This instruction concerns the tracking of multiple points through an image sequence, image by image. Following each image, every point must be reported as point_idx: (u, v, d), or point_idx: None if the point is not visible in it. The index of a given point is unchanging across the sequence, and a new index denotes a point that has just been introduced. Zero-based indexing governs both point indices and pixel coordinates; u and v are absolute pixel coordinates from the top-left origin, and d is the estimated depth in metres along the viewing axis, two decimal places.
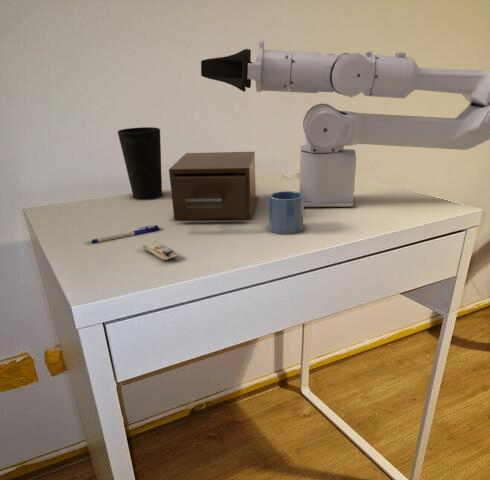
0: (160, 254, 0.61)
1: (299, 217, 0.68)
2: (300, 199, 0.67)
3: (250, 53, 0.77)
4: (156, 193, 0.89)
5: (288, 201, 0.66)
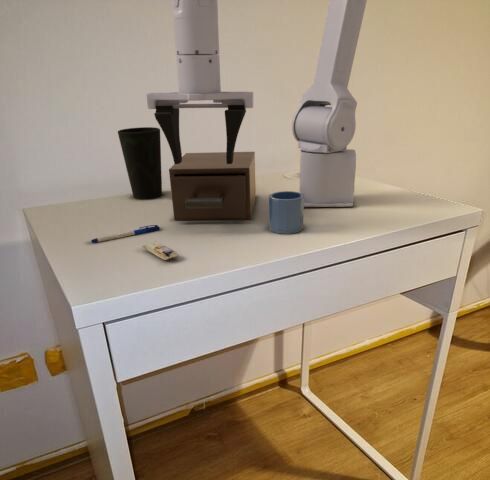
0: (160, 254, 0.61)
1: (299, 217, 0.68)
2: (300, 199, 0.67)
3: (159, 113, 0.63)
4: (156, 193, 0.89)
5: (288, 201, 0.66)
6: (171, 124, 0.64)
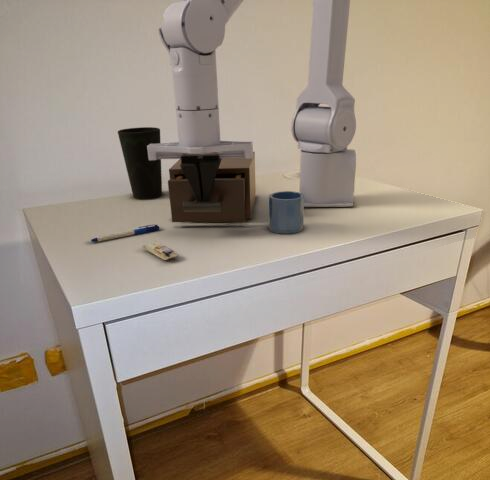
0: (160, 254, 0.61)
1: (299, 217, 0.68)
2: (300, 199, 0.67)
3: (185, 164, 0.64)
4: (156, 193, 0.89)
5: (288, 201, 0.66)
6: (197, 175, 0.64)
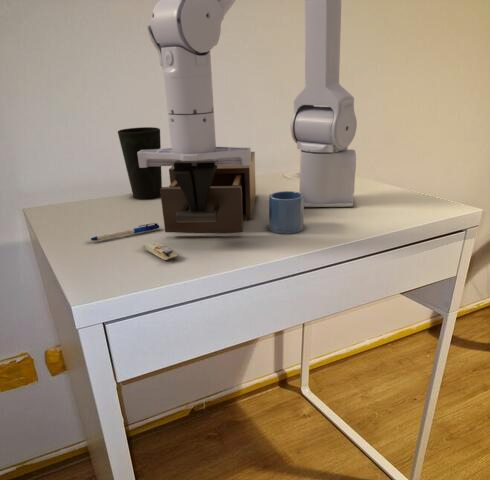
0: (160, 254, 0.61)
1: (299, 217, 0.68)
2: (300, 199, 0.67)
3: (178, 172, 0.59)
4: (156, 193, 0.89)
5: (288, 201, 0.66)
6: (191, 183, 0.60)
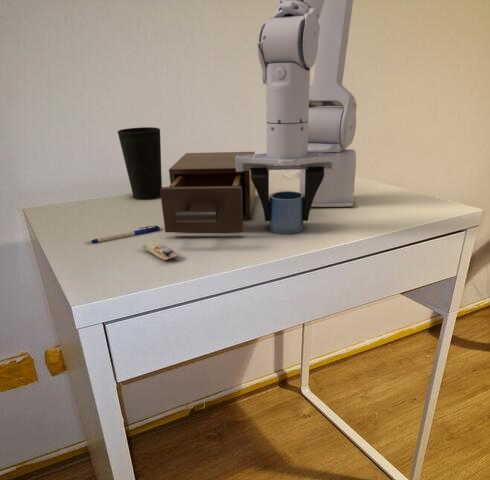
0: (160, 254, 0.61)
1: (299, 217, 0.68)
2: (300, 199, 0.67)
3: (256, 176, 0.65)
4: (156, 193, 0.89)
5: (288, 201, 0.66)
6: (266, 186, 0.66)
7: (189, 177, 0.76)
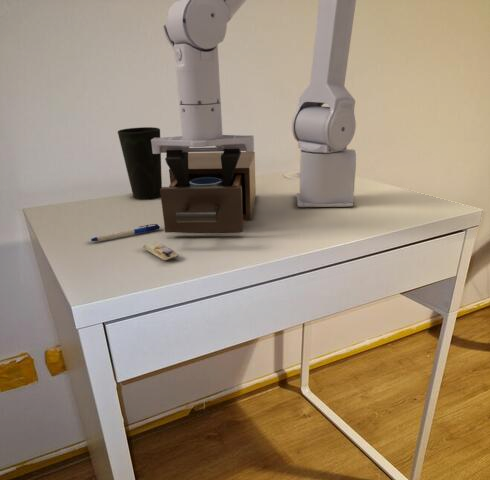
0: (160, 254, 0.61)
1: None
2: (217, 184, 0.68)
3: (170, 158, 0.66)
4: (156, 193, 0.89)
5: (205, 186, 0.67)
6: (181, 168, 0.66)
7: (189, 177, 0.76)
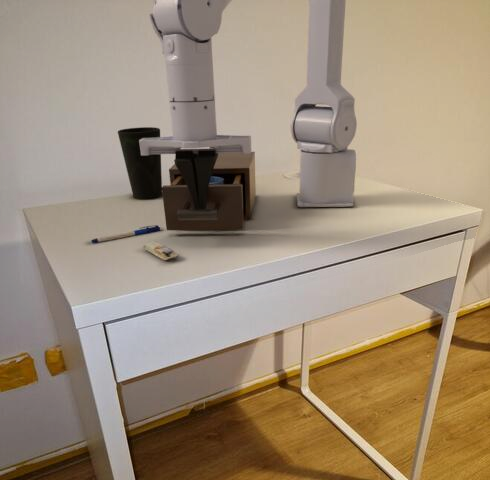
0: (160, 254, 0.61)
1: None
2: (218, 183, 0.69)
3: (179, 160, 0.60)
4: (156, 193, 0.89)
5: None
6: (192, 171, 0.61)
7: None
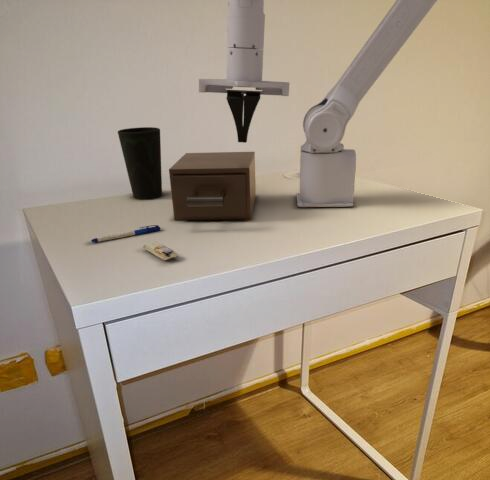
0: (160, 254, 0.61)
1: None
2: None
3: (231, 97, 0.74)
4: (156, 193, 0.89)
5: None
6: (240, 107, 0.75)
7: None
